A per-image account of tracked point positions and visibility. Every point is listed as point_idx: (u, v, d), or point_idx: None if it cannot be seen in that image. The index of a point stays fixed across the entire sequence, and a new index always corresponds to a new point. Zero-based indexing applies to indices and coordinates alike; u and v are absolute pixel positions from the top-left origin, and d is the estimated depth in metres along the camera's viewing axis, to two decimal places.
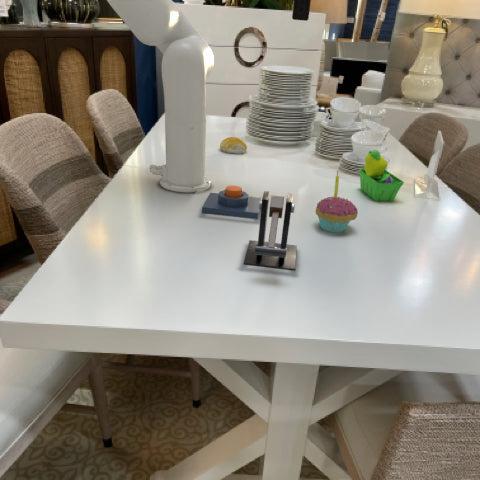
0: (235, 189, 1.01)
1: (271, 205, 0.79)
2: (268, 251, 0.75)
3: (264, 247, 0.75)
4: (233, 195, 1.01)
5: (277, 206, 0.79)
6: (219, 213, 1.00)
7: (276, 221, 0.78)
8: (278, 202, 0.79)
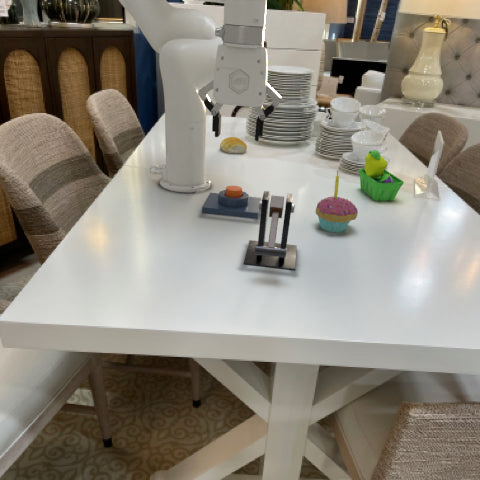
0: (235, 189, 1.01)
1: (271, 205, 0.79)
2: (268, 251, 0.75)
3: (264, 247, 0.75)
4: (233, 195, 1.01)
5: (277, 206, 0.79)
6: (219, 213, 1.00)
7: (276, 221, 0.78)
8: (278, 202, 0.79)
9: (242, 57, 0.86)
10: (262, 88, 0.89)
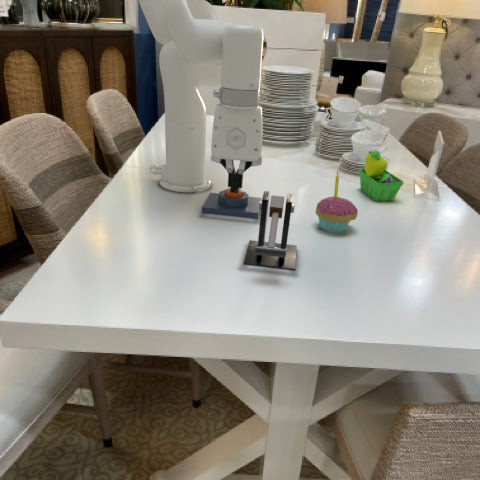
0: None
1: (271, 205, 0.79)
2: (268, 251, 0.75)
3: (264, 247, 0.75)
4: (233, 197, 1.01)
5: (277, 206, 0.79)
6: (219, 213, 1.00)
7: (276, 221, 0.78)
8: (278, 202, 0.79)
9: (238, 117, 0.91)
10: (258, 144, 0.94)
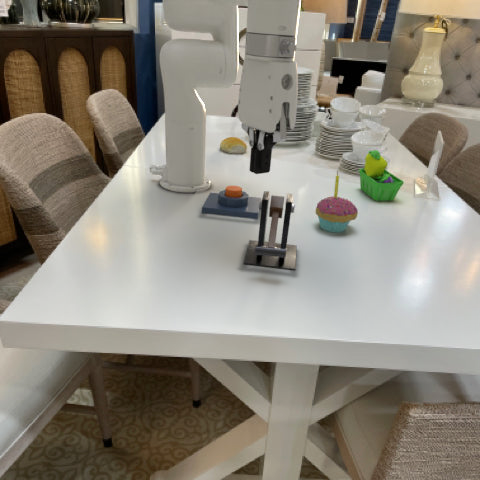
0: (235, 189, 1.01)
1: (271, 205, 0.79)
2: (268, 251, 0.75)
3: (264, 247, 0.75)
4: (233, 195, 1.01)
5: (277, 206, 0.79)
6: (219, 213, 1.00)
7: (276, 221, 0.78)
8: (278, 202, 0.79)
9: None
10: None
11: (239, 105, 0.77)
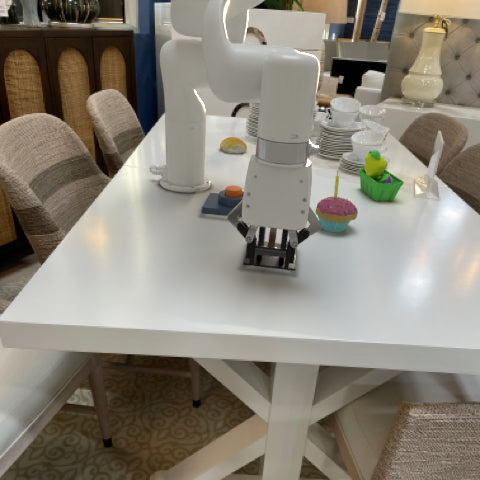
0: (235, 189, 1.01)
1: None
2: (268, 251, 0.75)
3: (264, 247, 0.75)
4: (233, 195, 1.01)
5: None
6: (219, 213, 1.00)
7: None
8: None
9: None
10: None
11: (247, 209, 0.71)
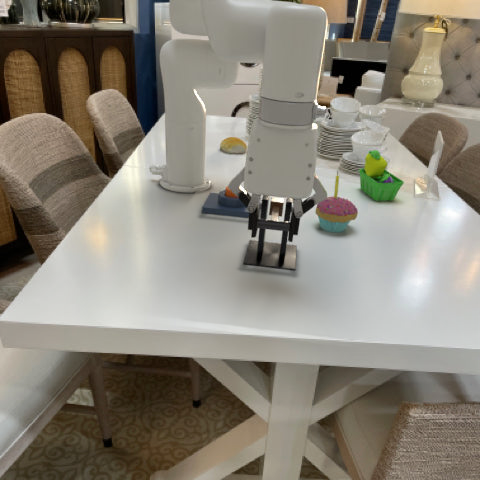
0: None
1: (272, 200, 0.79)
2: (271, 222, 0.71)
3: None
4: (233, 195, 1.01)
5: (277, 201, 0.79)
6: (219, 213, 1.00)
7: (277, 210, 0.77)
8: (278, 200, 0.80)
9: None
10: None
11: (250, 175, 0.67)
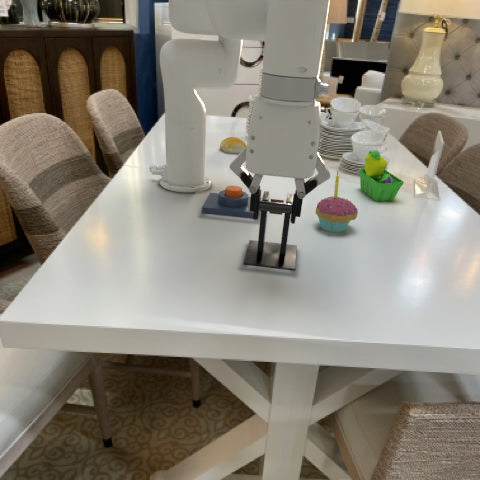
0: (235, 189, 1.01)
1: (272, 199, 0.79)
2: (273, 203, 0.70)
3: (269, 202, 0.71)
4: (233, 195, 1.01)
5: None
6: (219, 213, 1.00)
7: None
8: None
9: None
10: None
11: (251, 155, 0.66)
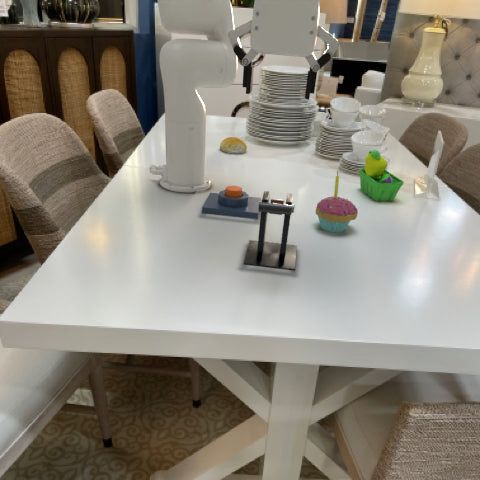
0: (235, 189, 1.01)
1: (272, 199, 0.79)
2: (273, 204, 0.70)
3: (269, 203, 0.71)
4: (233, 195, 1.01)
5: None
6: (219, 213, 1.00)
7: None
8: None
9: None
10: None
11: (256, 32, 0.71)
